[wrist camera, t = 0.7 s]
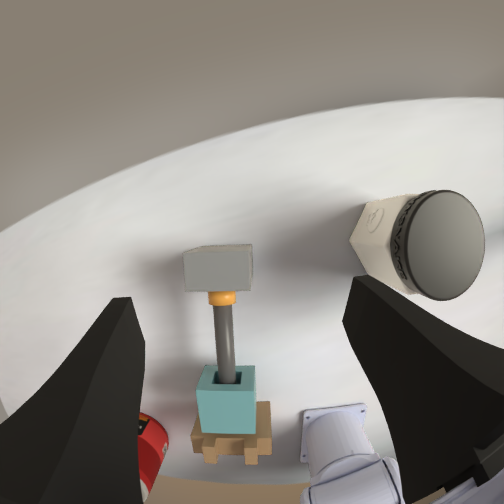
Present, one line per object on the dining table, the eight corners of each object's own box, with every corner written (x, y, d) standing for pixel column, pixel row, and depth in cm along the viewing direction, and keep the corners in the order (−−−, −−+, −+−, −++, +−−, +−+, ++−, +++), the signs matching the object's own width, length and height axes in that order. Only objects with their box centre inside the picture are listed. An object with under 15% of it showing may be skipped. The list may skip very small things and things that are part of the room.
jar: (372, 183, 29) (431, 162, 17) (428, 220, 29) (498, 220, 17) (336, 258, 30) (381, 277, 18) (396, 291, 30) (457, 322, 18)
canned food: (147, 403, 32) (114, 457, 21) (181, 446, 32) (161, 503, 22) (107, 415, 32) (71, 462, 22) (140, 455, 33) (115, 505, 22)
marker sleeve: (256, 405, 28) (255, 433, 23) (209, 404, 28) (201, 432, 24) (255, 365, 28) (253, 391, 23) (205, 365, 28) (195, 390, 23)
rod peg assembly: (270, 417, 32) (272, 464, 23) (204, 416, 32) (191, 461, 23) (266, 243, 30) (269, 250, 21) (188, 246, 30) (162, 253, 22)
